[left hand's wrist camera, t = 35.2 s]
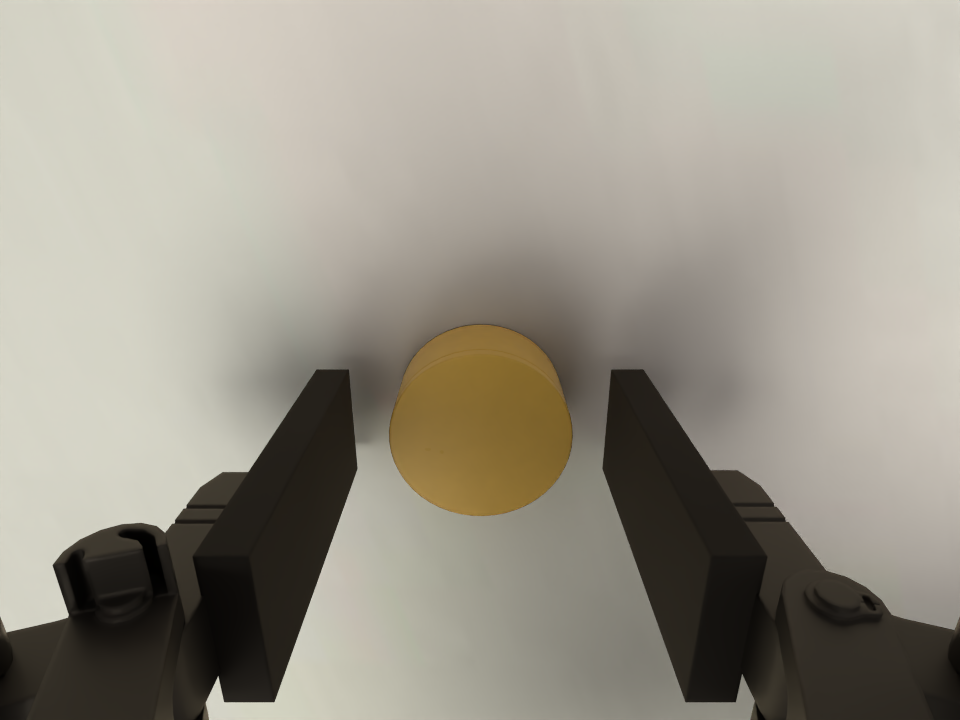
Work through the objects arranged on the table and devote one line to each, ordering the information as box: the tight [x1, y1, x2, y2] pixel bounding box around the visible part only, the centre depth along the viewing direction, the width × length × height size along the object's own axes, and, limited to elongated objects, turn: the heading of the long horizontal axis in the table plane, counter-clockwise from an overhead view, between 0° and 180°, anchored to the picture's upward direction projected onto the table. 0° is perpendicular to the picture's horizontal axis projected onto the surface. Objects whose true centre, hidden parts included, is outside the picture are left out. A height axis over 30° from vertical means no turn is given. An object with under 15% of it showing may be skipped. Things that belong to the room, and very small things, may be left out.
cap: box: [389, 325, 573, 516], centre depth 14 cm, size 4×4×2 cm
